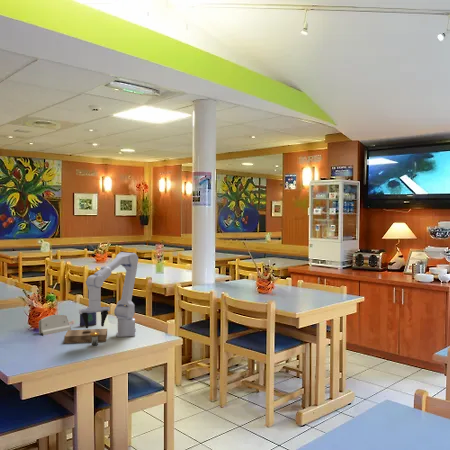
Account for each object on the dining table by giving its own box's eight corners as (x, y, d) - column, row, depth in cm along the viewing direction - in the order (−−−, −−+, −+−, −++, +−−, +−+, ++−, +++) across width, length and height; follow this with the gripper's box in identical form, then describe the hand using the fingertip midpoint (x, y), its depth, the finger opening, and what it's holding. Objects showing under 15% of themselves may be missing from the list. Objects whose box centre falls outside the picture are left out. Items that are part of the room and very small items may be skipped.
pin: (99, 343, 227) (99, 331, 227) (99, 345, 223) (98, 333, 223) (90, 343, 226) (90, 331, 226) (89, 346, 222) (89, 334, 222)
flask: (96, 324, 266) (96, 306, 265) (96, 325, 263) (96, 307, 263) (79, 325, 262) (79, 307, 262) (80, 326, 260) (80, 308, 259)
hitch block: (107, 335, 242) (107, 328, 242) (105, 341, 231) (105, 334, 231) (67, 336, 239) (67, 330, 238) (64, 343, 227) (64, 336, 227)
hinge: (43, 335, 241) (39, 316, 243) (39, 336, 244) (36, 318, 246) (72, 329, 253) (68, 311, 255) (68, 330, 256) (64, 313, 258)
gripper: (107, 297, 231) (107, 323, 232) (77, 299, 224) (77, 326, 224) (111, 299, 225) (110, 326, 225) (81, 301, 218) (80, 330, 218)
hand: (94, 327), depth 224 cm, fingers open, 7 cm apart
